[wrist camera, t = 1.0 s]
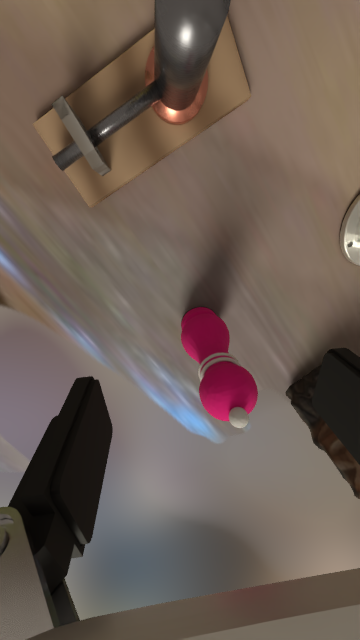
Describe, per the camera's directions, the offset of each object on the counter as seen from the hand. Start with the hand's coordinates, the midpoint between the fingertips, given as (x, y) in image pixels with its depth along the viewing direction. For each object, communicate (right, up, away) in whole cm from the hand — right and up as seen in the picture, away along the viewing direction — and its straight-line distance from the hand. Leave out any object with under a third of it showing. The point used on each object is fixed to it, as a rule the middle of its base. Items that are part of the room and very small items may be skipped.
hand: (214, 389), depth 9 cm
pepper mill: (+2, +2, +28) cm, 29 cm away
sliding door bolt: (-7, +25, +15) cm, 29 cm away
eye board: (-5, +26, +16) cm, 31 cm away
